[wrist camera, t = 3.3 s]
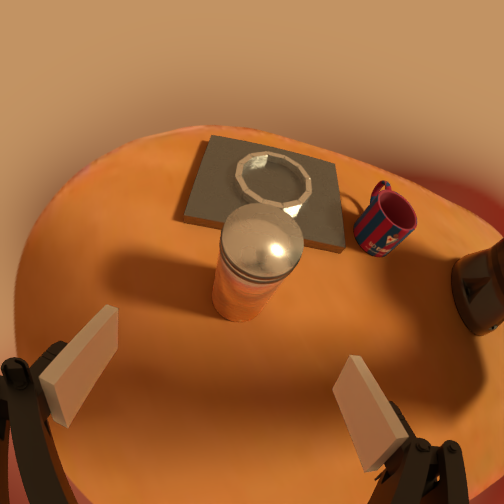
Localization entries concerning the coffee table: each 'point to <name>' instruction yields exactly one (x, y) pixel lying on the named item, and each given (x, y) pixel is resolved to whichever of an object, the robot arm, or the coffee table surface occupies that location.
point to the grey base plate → (268, 189)
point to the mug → (384, 221)
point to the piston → (254, 259)
